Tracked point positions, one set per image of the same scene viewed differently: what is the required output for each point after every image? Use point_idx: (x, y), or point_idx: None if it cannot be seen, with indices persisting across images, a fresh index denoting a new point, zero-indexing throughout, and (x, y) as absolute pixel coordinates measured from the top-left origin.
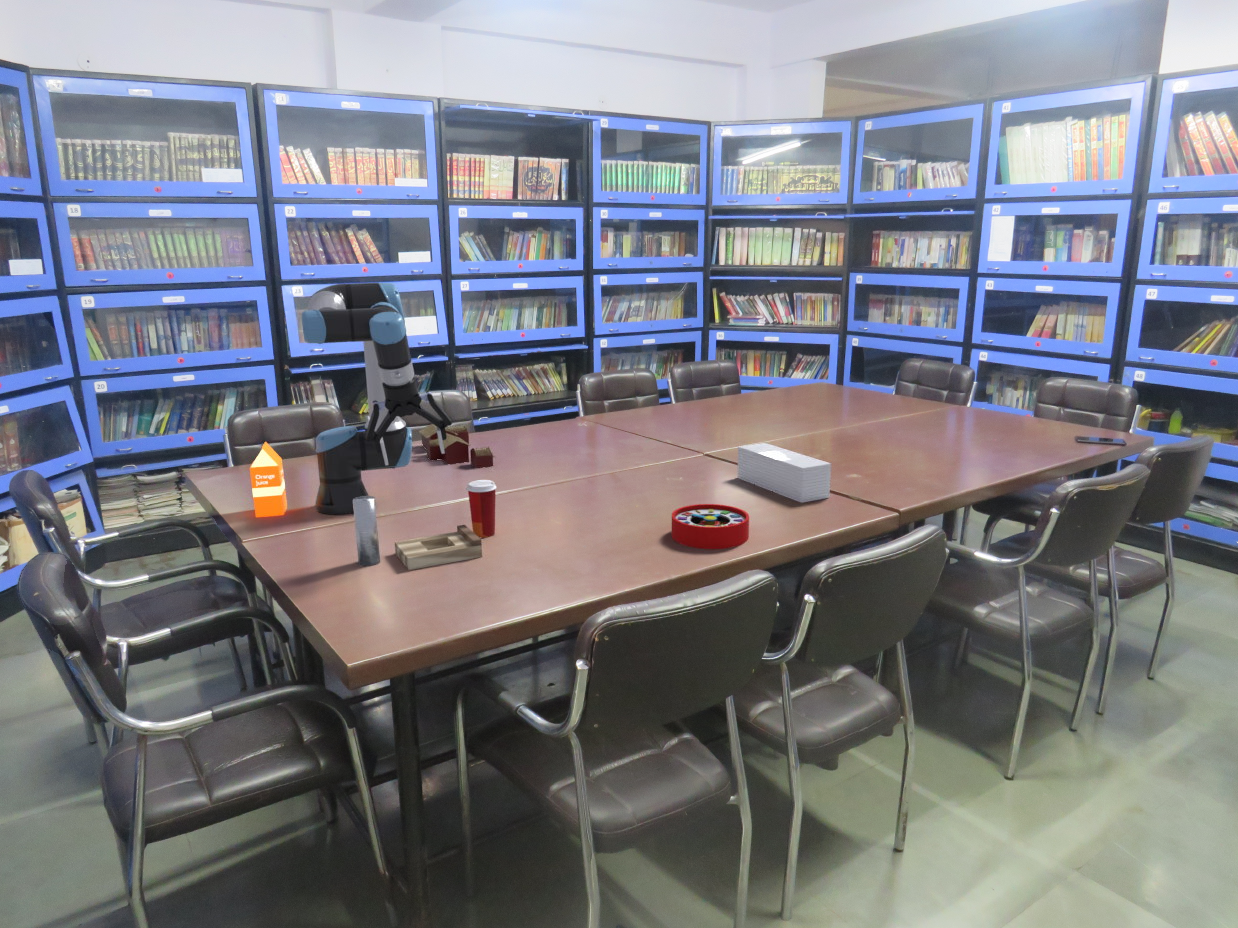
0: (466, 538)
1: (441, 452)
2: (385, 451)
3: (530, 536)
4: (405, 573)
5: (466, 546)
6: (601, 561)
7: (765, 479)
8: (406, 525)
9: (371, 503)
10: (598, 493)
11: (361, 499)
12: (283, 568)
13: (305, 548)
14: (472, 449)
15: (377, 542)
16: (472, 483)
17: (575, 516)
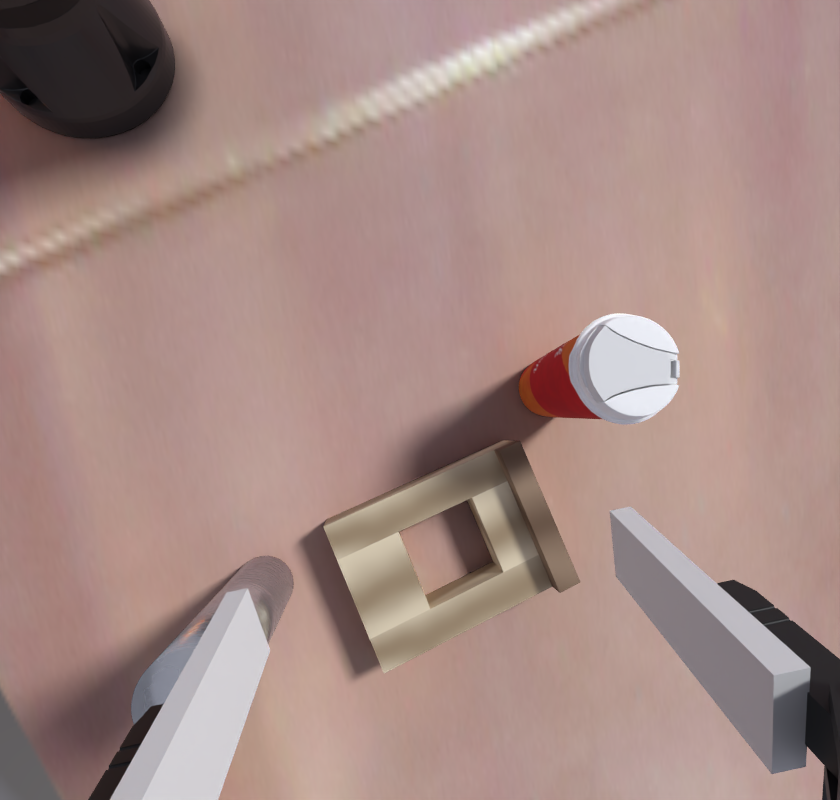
0: (529, 529)
1: (620, 580)
2: (229, 764)
3: (660, 422)
4: (376, 676)
5: (532, 584)
6: (823, 619)
7: None
8: (322, 280)
9: None
10: (806, 95)
11: None
12: (11, 617)
13: (43, 448)
14: None
15: (280, 615)
16: (602, 363)
17: (758, 279)
